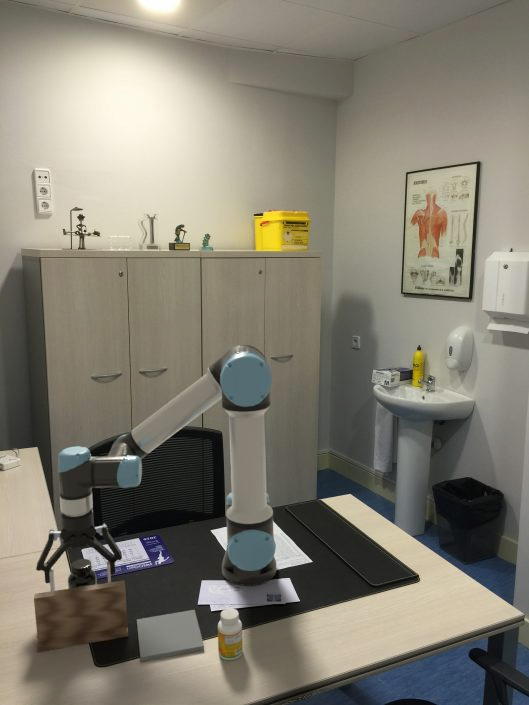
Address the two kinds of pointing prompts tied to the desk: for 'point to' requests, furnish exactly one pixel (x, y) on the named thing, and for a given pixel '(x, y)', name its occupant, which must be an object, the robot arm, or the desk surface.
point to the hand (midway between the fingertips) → (81, 589)
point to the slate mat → (169, 635)
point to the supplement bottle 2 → (230, 635)
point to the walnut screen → (80, 615)
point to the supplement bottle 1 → (81, 574)
